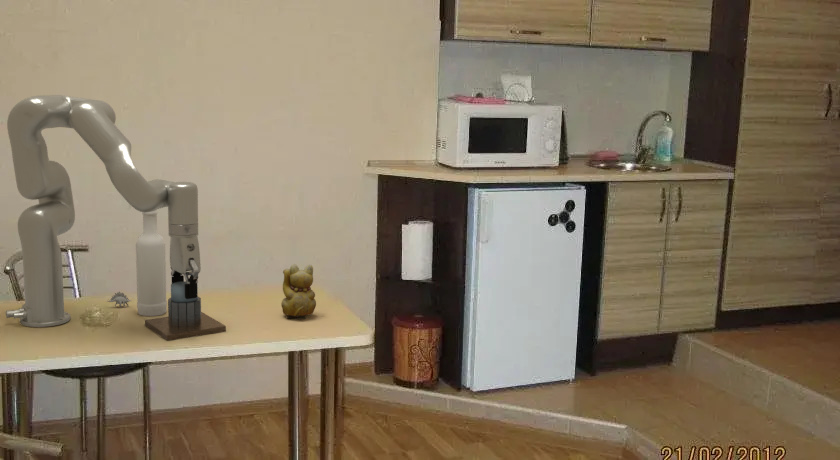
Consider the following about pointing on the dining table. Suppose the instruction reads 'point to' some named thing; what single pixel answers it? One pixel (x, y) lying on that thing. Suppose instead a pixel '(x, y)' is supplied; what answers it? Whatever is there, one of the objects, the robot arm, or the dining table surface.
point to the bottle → (151, 269)
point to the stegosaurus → (120, 299)
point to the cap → (180, 293)
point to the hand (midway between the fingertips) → (184, 294)
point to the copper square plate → (184, 321)
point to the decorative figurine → (298, 292)
